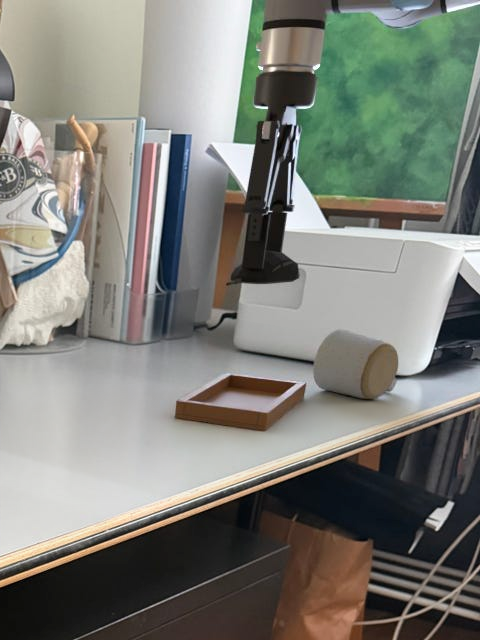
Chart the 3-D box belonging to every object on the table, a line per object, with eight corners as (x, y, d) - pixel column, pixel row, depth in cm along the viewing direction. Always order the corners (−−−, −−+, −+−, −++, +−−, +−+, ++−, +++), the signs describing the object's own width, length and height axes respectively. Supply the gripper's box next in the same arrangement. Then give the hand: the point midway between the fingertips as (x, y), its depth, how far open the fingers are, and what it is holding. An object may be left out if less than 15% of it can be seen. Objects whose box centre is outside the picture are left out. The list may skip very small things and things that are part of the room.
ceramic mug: (360, 404, 116) (374, 340, 113) (307, 391, 122) (318, 330, 119) (409, 396, 122) (424, 335, 119) (356, 384, 128) (368, 326, 124)
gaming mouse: (207, 283, 125) (210, 251, 123) (268, 277, 134) (272, 247, 132) (247, 287, 121) (251, 254, 119) (307, 281, 130) (312, 250, 128)
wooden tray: (303, 398, 119) (306, 382, 118) (265, 431, 103) (267, 413, 102) (223, 388, 123) (225, 372, 122) (174, 417, 108) (176, 400, 107)
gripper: (278, 79, 127) (254, 258, 137) (234, 64, 110) (211, 269, 120) (334, 78, 124) (306, 261, 134) (298, 62, 107) (269, 273, 117)
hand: (261, 265), depth 127 cm, fingers closed on gaming mouse, 8 cm apart
